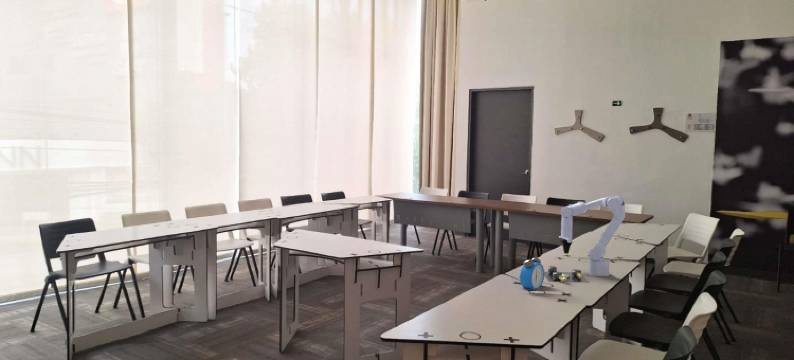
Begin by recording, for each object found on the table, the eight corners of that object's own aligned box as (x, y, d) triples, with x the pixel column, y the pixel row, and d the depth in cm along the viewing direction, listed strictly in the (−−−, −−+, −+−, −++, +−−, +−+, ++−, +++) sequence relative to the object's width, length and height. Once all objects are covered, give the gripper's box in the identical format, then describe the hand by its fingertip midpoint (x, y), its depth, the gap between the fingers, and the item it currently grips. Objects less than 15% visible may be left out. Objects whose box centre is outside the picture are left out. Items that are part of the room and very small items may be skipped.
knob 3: (571, 275, 274) (571, 269, 273) (579, 275, 273) (580, 269, 273) (576, 280, 264) (576, 274, 263) (585, 280, 263) (585, 274, 263)
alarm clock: (530, 293, 247) (531, 261, 246) (518, 290, 251) (519, 259, 250) (544, 287, 256) (545, 257, 255) (533, 285, 260) (533, 255, 259)
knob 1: (556, 274, 275) (556, 268, 275) (547, 273, 277) (548, 267, 276) (556, 270, 285) (557, 264, 285) (548, 269, 286) (548, 263, 286)
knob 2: (551, 278, 268) (551, 272, 268) (559, 277, 269) (559, 271, 269) (561, 283, 258) (561, 277, 258) (569, 283, 259) (569, 276, 259)
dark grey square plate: (579, 274, 281) (579, 270, 281) (589, 284, 261) (590, 280, 261) (541, 273, 283) (541, 269, 282) (548, 284, 263) (548, 279, 263)
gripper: (556, 226, 292) (555, 250, 293) (562, 230, 278) (561, 256, 279) (569, 226, 292) (568, 250, 293) (576, 230, 277) (575, 256, 278)
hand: (566, 253), depth 286 cm, fingers closed
